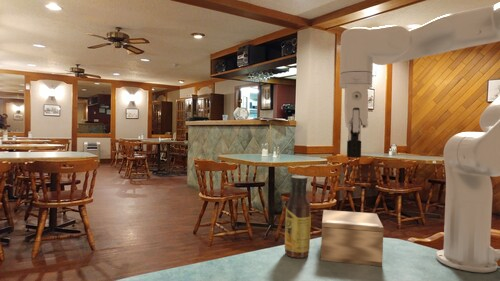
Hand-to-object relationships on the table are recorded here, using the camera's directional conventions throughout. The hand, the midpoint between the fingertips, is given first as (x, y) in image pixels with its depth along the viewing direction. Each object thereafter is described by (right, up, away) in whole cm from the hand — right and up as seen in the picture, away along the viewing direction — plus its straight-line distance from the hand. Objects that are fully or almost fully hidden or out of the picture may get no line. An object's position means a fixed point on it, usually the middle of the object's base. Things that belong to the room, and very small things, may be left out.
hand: (353, 157), depth 86 cm
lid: (+1, -17, +4) cm, 17 cm away
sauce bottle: (-13, -25, +3) cm, 28 cm away
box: (0, -25, +5) cm, 25 cm away
